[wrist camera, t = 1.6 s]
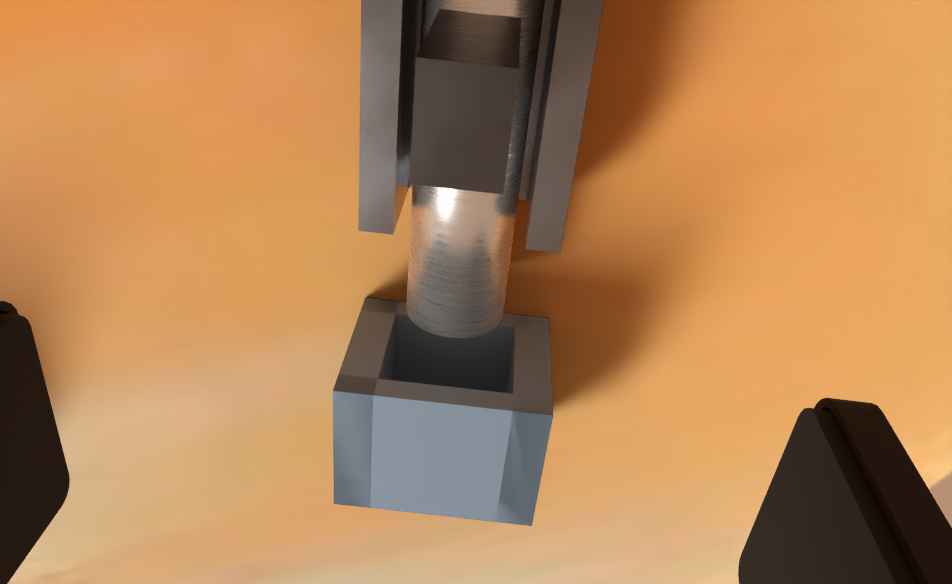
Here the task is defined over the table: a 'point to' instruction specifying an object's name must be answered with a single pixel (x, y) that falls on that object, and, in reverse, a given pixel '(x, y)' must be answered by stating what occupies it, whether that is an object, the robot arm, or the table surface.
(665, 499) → the table surface
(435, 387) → the socket block
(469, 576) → the table surface
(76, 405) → the table surface
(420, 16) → the sleeve
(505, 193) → the sliding bolt
